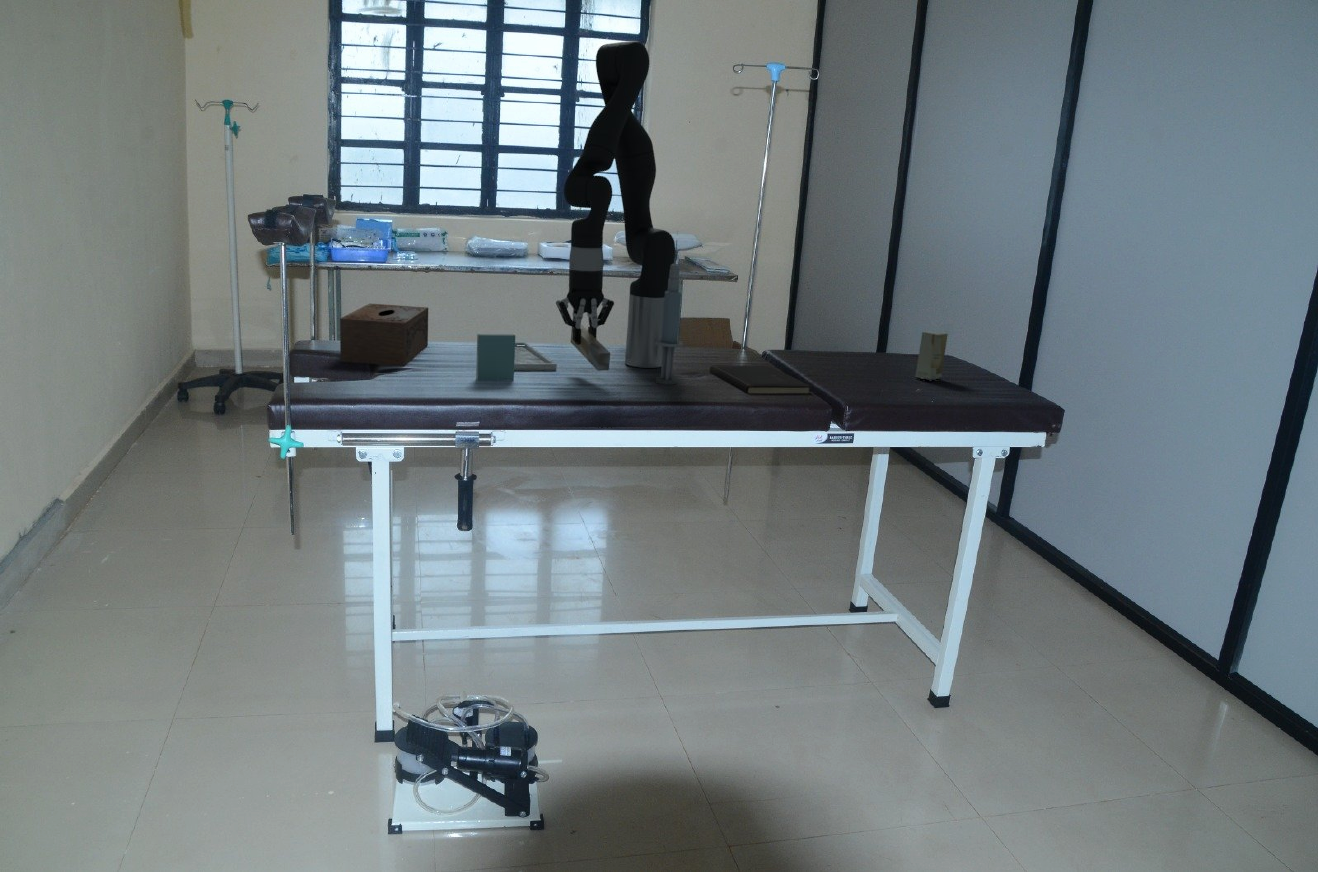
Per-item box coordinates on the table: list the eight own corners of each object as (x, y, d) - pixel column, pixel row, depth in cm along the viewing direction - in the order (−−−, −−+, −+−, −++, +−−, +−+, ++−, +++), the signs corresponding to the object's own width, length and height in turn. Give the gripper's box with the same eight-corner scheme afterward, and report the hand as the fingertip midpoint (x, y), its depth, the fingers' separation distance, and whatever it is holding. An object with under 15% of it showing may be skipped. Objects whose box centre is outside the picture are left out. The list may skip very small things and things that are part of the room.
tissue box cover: (404, 367, 231) (405, 323, 228) (340, 362, 230) (340, 318, 228) (427, 347, 256) (428, 307, 253) (369, 343, 255) (369, 303, 253)
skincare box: (929, 382, 259) (936, 334, 256) (914, 379, 262) (921, 331, 259) (941, 379, 264) (948, 332, 260) (926, 376, 266) (933, 330, 263)
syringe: (666, 378, 239) (676, 228, 229) (682, 384, 234) (693, 231, 224) (647, 380, 236) (656, 227, 226) (662, 386, 231) (673, 230, 221)
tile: (511, 378, 226) (513, 334, 224) (513, 380, 225) (515, 335, 222) (476, 379, 223) (477, 333, 220) (477, 380, 222) (478, 335, 219)
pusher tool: (581, 341, 238) (582, 325, 236) (608, 370, 223) (610, 353, 221) (570, 342, 237) (571, 325, 235) (597, 370, 222) (599, 353, 220)
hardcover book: (768, 374, 256) (769, 365, 255) (810, 396, 235) (811, 386, 234) (709, 374, 250) (709, 365, 250) (746, 396, 230) (747, 386, 229)
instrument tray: (525, 348, 263) (525, 342, 263) (556, 370, 238) (556, 364, 238) (480, 348, 258) (480, 342, 258) (507, 370, 234) (507, 364, 234)
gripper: (609, 265, 234) (606, 339, 238) (550, 265, 228) (549, 342, 233) (621, 269, 227) (618, 346, 232) (562, 269, 221) (560, 348, 226)
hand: (584, 343), depth 232 cm, fingers closed on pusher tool, 2 cm apart
